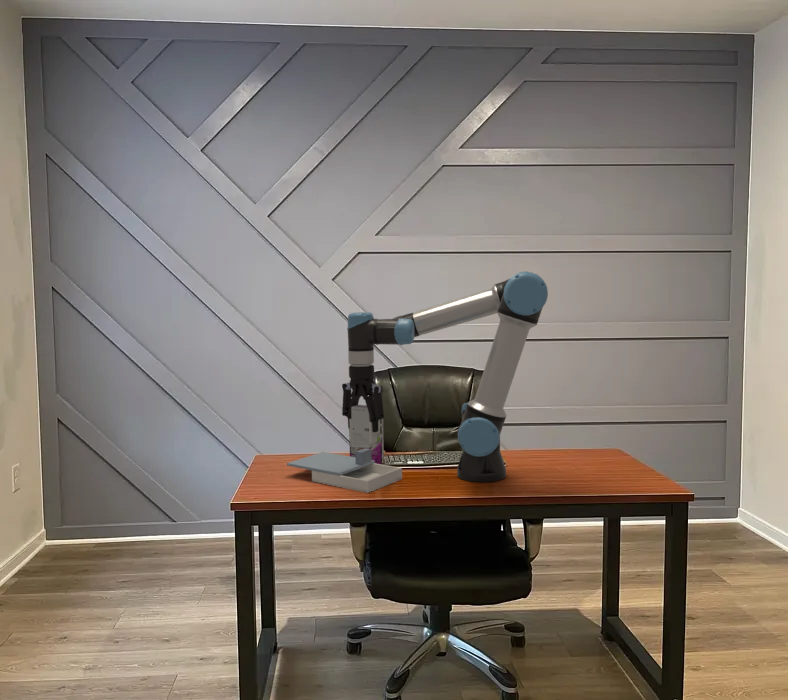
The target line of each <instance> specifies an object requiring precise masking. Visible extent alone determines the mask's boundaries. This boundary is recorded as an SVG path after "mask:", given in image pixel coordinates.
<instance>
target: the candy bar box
mask: <svg viewBox="0 0 788 700" xmlns="http://www.w3.org/2000/svg"><path fill="white" fill-rule="evenodd" d="M348 433H349V435H348V436H349V439H348V441H349V456H350V457H355V451H358V450H361V449H364V448H362V447H352V441H350V429H349V428H348ZM384 442H385V441H384V418H383V419H381V420H379V421H378V432H377V442H375V445H374V446H372V447H370V448H367V449H371V460H374V461H375V463H376V464H382V461H383V459H384V460H385V455H384V454H385V452H384V451H385V449H384ZM382 465H383V464H382Z"/></svg>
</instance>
